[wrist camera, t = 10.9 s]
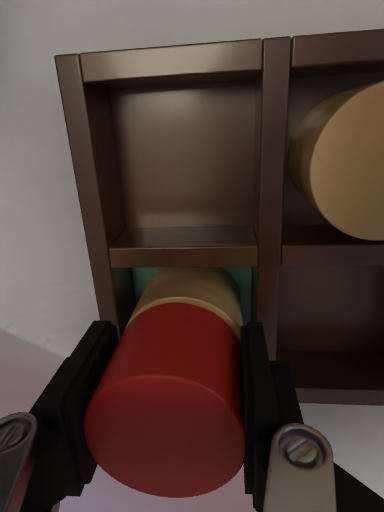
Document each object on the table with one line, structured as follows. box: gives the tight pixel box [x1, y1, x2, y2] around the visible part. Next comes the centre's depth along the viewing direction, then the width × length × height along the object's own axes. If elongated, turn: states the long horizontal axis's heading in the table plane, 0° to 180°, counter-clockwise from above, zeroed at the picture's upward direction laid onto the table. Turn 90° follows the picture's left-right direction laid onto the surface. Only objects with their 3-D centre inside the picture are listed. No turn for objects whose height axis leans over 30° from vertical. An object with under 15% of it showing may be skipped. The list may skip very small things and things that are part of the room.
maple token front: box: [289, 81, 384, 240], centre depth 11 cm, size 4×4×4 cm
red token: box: [83, 303, 245, 498], centre depth 11 cm, size 4×4×4 cm
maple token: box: [125, 267, 243, 342], centre depth 14 cm, size 4×4×4 cm
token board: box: [55, 29, 384, 406], centre depth 13 cm, size 13×13×3 cm
